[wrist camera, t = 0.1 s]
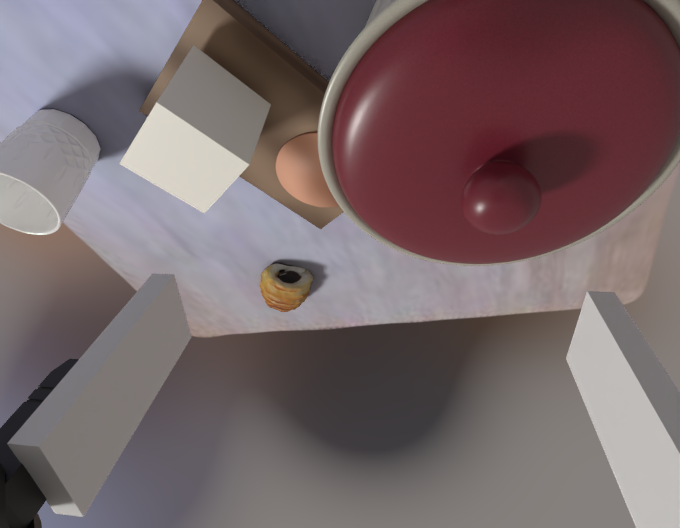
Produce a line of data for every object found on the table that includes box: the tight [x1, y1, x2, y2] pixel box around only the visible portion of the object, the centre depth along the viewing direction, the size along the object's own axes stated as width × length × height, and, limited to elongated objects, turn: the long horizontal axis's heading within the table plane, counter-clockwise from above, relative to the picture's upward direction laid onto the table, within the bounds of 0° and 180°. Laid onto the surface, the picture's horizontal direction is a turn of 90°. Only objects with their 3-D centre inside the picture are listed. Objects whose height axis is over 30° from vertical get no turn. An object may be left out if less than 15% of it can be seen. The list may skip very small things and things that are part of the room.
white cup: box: [0, 109, 101, 235], centre depth 43 cm, size 8×8×10 cm
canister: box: [318, 0, 680, 266], centre depth 27 cm, size 18×18×21 cm
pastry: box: [260, 264, 313, 312], centre depth 61 cm, size 9×7×4 cm
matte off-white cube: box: [120, 45, 271, 213], centre depth 35 cm, size 7×7×8 cm
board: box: [139, 0, 344, 229], centre depth 39 cm, size 13×21×10 cm, turn 49°
